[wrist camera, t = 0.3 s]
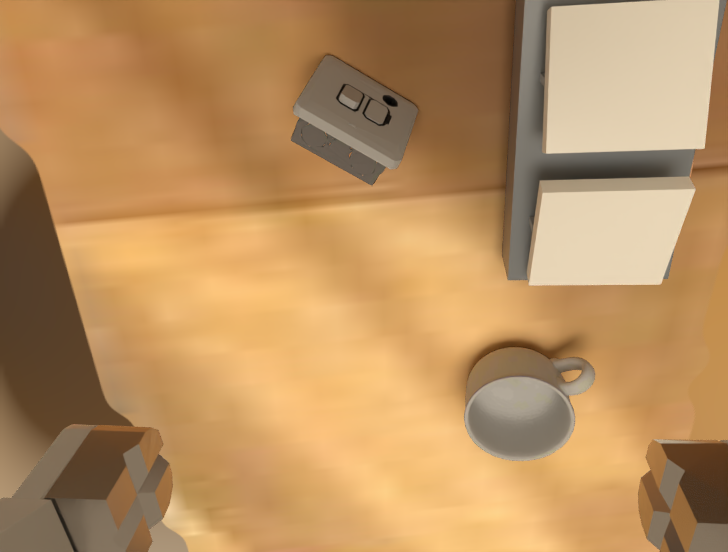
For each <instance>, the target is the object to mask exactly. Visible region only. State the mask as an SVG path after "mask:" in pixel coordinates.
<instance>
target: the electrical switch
mask: <svg viewBox="0 0 728 552" xmlns="http://www.w3.org/2000/svg"><path fill="white" fill-rule="evenodd" d="M293 112H294V115H296V116H298V117H299V120H298V121H297V124H296V128H295V130H294V132H293V135H292V138H291V141H293V142H294V143H296V144H298V145H300V146H302V147H303V148H305V149H307V150H309V151H311V152H312V153H314V154H316V155H318V156H320V157H321V158H323V159H325V160H327V161H329V162H330V163H332V164H334V165H336V166H338V167H339V168H341V169H343V170H345V171H347V172H348V173H350V174H352V175H354V176H355V177H357V178H359V179H361V180H363V181H364V182H366V183H368V184H370V185H373V183H375V181H376V179H377V178H378V176H379V175H380V174H381V173H382V172H383V171H384V169H385V168H386V167H387V168H389V169H397V168H398V166H399V164H400V162H401V161H402V158H403V155H404V152H405V149H406V146H407V143H408V140H409V137H410V134H411V131H412V128H413V125H414V122H415V119H416V116H417V113H418V109H417V107H416V106H415V105H414V104H413V103H411V102H410V101H408V100H406V99H404V98H403V97H401V96H399V95H398V94H396V93H394V92H393V91H391V90H389V89H388V88H386V87H384V86H382V85H381V84H379V83H377V82H376V81H374V80H372V79H371V78H369V77H367V76H366V75H364V74H362V73H361V72H359V71H357V70H355V69H354V68H352V67H350V66H349V65H347V64H345V63H344V62H342V61H340V60H339V59H337V58H335V57H333V56H331V55H326V56H325V57H324V58H323V60H322V61H321V63H320V64H319V66H318V68H317V69H316V71H315V72H314V74H313V76H312V77H311V79H310V80H309V82H308V84H307V85H306V87H305V88H304V90H303V92H302V93H301V95H300V96H299V98H298V100H297V101H296V103H295V105H294V106H293ZM309 123H310V124H309ZM308 124H309V125H308ZM306 125H307V126H306ZM325 133H326V134H327V136H326V134H325ZM301 134H302V136H301ZM329 143H331V144H330V145H329ZM324 144H325V145H324ZM323 145H324V146H323ZM309 146H310V147H309ZM350 148H352V149H350ZM351 152H352V154H351V156H350V158H349V153H351ZM376 161H377V163H376ZM352 167H353V168H352ZM362 175H363V176H362Z"/></svg>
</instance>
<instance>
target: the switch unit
mask: <svg viewBox="0 0 728 552" xmlns="http://www.w3.org/2000/svg"><path fill="white" fill-rule="evenodd" d="M639 1H656V0H516V8H515V26H514V45H513V63H512V82H511V100H510V118H509V137H508V155H507V174H506V192H505V211H504V229H503V248H502V257H503V261H504V266H505V270H506V274H507V279H508V280H528V278H527V267H528V260H529V253H530V246H531V239H532V232H533V225H534V218H535V211H536V204H537V197H538V190H539V183H540V180H576V179H614V178H651V177H688V176H689V177H690V176H691V172H692V167H693V162H694V161H693V158H694V153H695V149H677V150H646V151H615V152H583V153H552V154H545V153H542V142H543V113H544V85H545V57H546V28H547V10H548V9H550V8H551V7H555V6H572V5H589V4H606V3H622V2H639ZM726 2H727V0H719V10H718V20H717V30H716V40H715V50H714V58H715V54H716V49H717V44H718V39H719V35H720V30H721V25H722V20H723V16H724V11H725V6H726ZM713 63H714V60H713ZM674 248H675V247H674ZM673 253H674V250H673V252H672V255H671V258H670V261H669V263H668V266H667V269H666V272H665V274H664V277H663V279H668V276H669V272H670V267H671V262H672V257H673Z"/></svg>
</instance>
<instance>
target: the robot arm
mask: <svg viewBox="0 0 728 552" xmlns="http://www.w3.org/2000/svg"><path fill="white" fill-rule="evenodd" d="M162 446H163V441H162V438H161V436H160V433H159V430H157V429H154V428H150V427H130V426H108V425H98V426H95V425H77V424H72V425H70V426H68V427H66V428H65V429H63V431H62V432H61V433H60V434H59V436H58V437H57V438H56V440H55V441H54V442H53V444H52V445H51V446H50V448H49V449H48V450H47V452H46V453H45V454H44V456H43V457H42V458H41V460H40V461H39V462H38V463H37V465H36V466H35V467H34V469H33V470H32V471H31V473H30V474H29V475H28V477H27V478H26V479H25V481H24V482H23V483H22V485H21V486H20V487H19V489H18V490H17V491H16V493H15V494H14V495H13V496H12V498H2V499H0V552H148V550H149V548H150V546H151V544H152V538H151V535H150V531H149V529H151V528H152V527H153V526H154V525H156V524H157V523H158V522H159V521H161V520H162V519H163V518H164V515H165V513H166V511H167V509H168V506H169V504H170V499H171V493H172V488H173V481H172V471H171V468H170V464H169V463H168V462H167V461H166V460H165V459H164V458H163V457H162V456H160V455H159V452H160V450H161V448H162ZM646 460H647V462H648V464H649V467H650V469H651V470H650V471H649V472H648V473H646V474H645V475H644V476H643V477H641V480H640V486H639V491H638V504H639V514H640V519H641V523H642V527H643V529H644V532H645V535H646V538H647V540H649V541H650V542H651V543H652V544H653V545H654V546H655V547H657V548H658V549H659V550H660V552H728V440H721V441H717V440H657V439H653V440H652V442H651V443H650V444H649V446H648V450H647V454H646Z"/></svg>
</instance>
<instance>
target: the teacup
mask: <svg viewBox="0 0 728 552" xmlns="http://www.w3.org/2000/svg"><path fill="white" fill-rule="evenodd" d="M570 370H582V373H581V375H580V376H579V377H578V378H577V379H575V380H574V381H571V382H566V381H565V380H564V379H563V377H562V375H561V373H562V372H565V371H570ZM594 380H595V371H594V368H593V367H592V366H591V364H590V363H589V362H587V361H586V360H584V359H582V358H577V357H570V358H563V359H558V358H552V359H548V358H547V357H546V356H544V355H542V354H541V353H539V352H537V351H534V350H531V349H527V348H521V347H508V348H503V349H499V350H496V351H493V352H491V353H489V354H487V355H486V356H484V357H483V358H482V359H480V360H479V361H478V362H477V364H476V365H475V366H474V367H473V369H472V371H471V373H470V375H469V378H468V381H467V386H466V408H465V414H464V421H465V427H466V429H467V432H468V434H469V436H470V437H471V439H472V440H473V442H474V443H475V444H476V445H477V446H479V447H480V448H481V449H482V450H484V451H485V452H487V453H489V454H491V455H493V456H495V457H498V458H502V459H506V460H512V461H529V460H536V459H540V458H542V457H546V456H548V455H550V454H552V453H554V452H555V451H556V450H558V449H559V448H561V447H562V446H563V445H564V444H565V443H566V442H567V441H568V440H569V438H570V436H571V434H572V432H573V430H574V426H575V415H574V410H573V407H572V405H571V403H570V399H569V395H578V394H581V393H583V392H585V391H586V390H588V389H589V388H590V387H591V385H592V384H593V382H594Z"/></svg>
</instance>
